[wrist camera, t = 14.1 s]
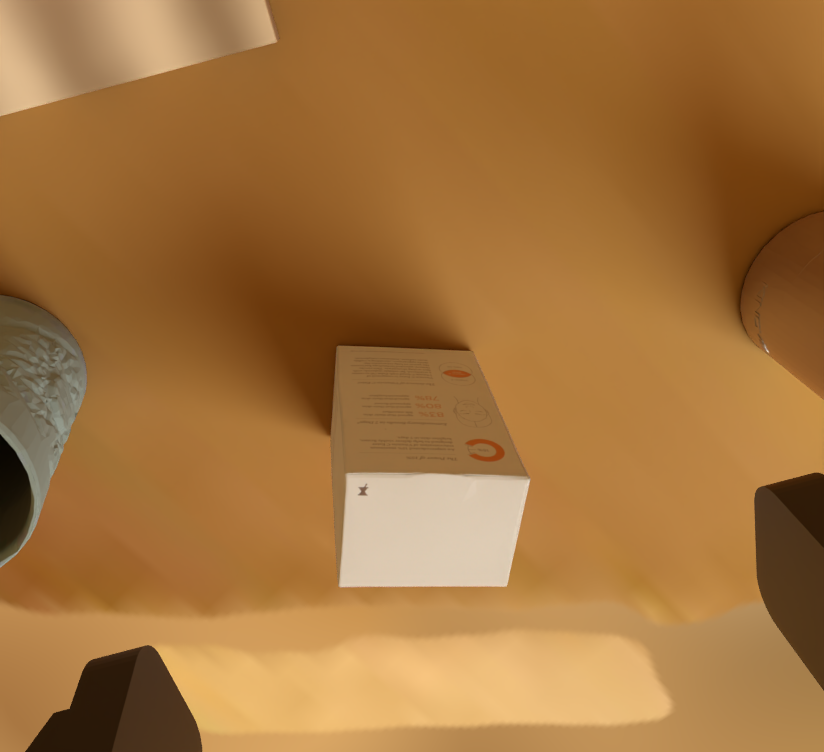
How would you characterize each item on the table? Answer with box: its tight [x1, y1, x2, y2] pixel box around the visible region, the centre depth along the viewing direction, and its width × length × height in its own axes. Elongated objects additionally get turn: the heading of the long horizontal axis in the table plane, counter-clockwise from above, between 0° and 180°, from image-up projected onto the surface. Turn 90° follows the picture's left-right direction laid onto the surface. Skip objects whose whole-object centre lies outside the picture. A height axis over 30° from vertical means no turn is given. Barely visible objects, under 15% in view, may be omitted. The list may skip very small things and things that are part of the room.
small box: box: [331, 346, 530, 587], centre depth 39 cm, size 8×6×13 cm
